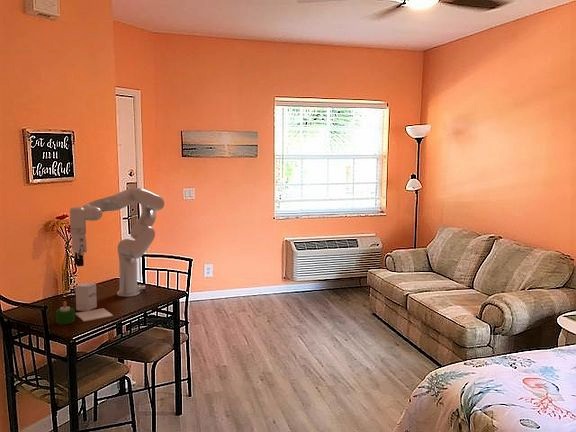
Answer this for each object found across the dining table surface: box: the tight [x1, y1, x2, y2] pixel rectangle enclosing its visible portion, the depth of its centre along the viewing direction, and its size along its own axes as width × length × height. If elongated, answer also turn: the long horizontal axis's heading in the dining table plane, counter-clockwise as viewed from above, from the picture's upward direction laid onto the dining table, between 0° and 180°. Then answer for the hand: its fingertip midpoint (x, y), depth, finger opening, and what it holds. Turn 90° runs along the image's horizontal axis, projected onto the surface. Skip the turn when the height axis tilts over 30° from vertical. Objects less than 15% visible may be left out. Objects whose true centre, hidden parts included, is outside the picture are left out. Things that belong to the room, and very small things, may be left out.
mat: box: [75, 307, 114, 322], centre depth 248 cm, size 14×13×1 cm
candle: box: [55, 300, 76, 325], centre depth 238 cm, size 8×8×10 cm
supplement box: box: [75, 283, 98, 312], centre depth 256 cm, size 7×7×13 cm
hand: (79, 265), depth 262 cm, fingers open, 3 cm apart
